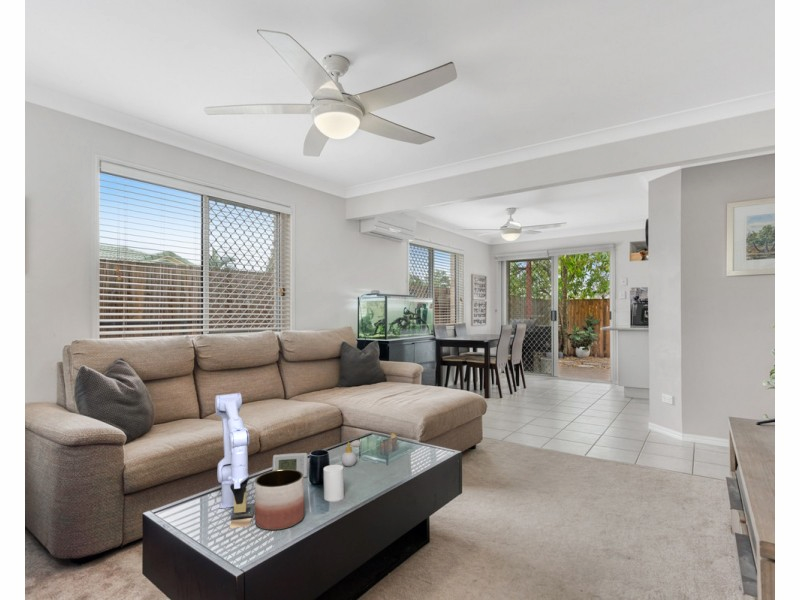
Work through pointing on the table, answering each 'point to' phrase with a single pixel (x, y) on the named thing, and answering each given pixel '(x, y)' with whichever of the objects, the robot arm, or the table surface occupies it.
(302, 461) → the digital clock
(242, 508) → the brushed brass bar
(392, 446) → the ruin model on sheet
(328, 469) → the cup
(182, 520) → the table surface
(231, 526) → the coaster
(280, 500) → the planter
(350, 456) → the perfume bottle
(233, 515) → the grey square frame
